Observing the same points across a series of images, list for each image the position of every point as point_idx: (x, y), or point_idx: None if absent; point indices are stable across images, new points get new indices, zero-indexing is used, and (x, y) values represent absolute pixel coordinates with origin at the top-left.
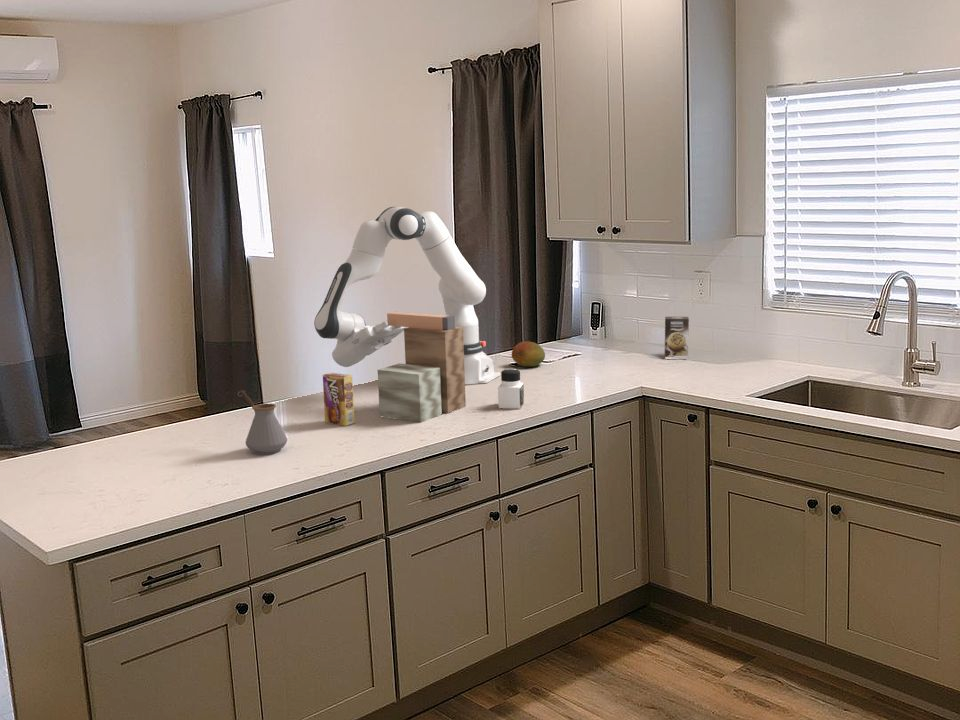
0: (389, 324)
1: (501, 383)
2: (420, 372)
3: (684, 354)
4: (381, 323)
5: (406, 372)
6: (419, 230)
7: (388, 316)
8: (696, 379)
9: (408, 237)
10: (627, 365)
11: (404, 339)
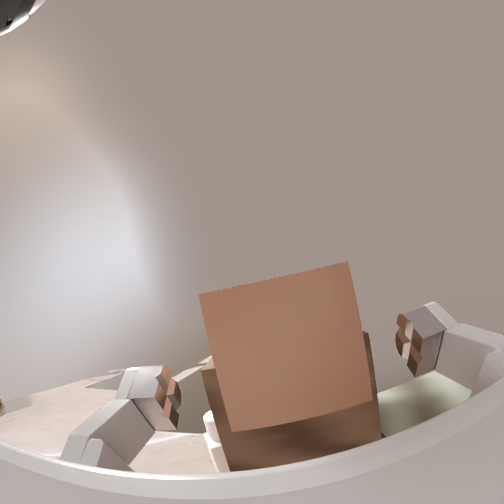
0: (398, 341)
1: (221, 445)
2: (423, 380)
3: (3, 408)
4: (458, 324)
5: (452, 382)
6: (19, 24)
7: (349, 298)
8: (80, 408)
9: (28, 2)
10: (4, 431)
11: (375, 386)
